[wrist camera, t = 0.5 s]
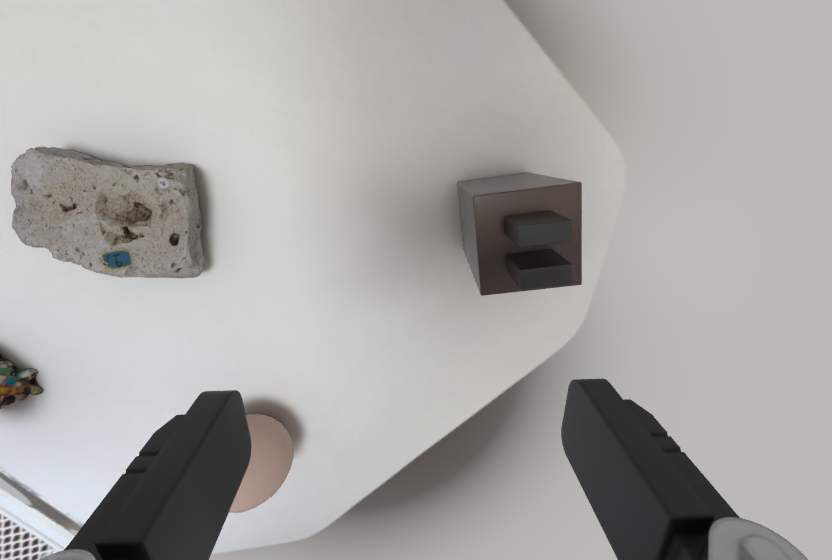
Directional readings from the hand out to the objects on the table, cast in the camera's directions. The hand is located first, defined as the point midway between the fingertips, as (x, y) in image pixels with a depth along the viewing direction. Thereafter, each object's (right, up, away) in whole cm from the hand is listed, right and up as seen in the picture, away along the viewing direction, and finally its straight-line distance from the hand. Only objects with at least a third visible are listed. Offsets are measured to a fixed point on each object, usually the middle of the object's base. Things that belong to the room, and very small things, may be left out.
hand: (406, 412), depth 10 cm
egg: (-14, -11, +28) cm, 33 cm away
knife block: (+6, +9, +21) cm, 24 cm away
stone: (-22, +9, +22) cm, 33 cm away
